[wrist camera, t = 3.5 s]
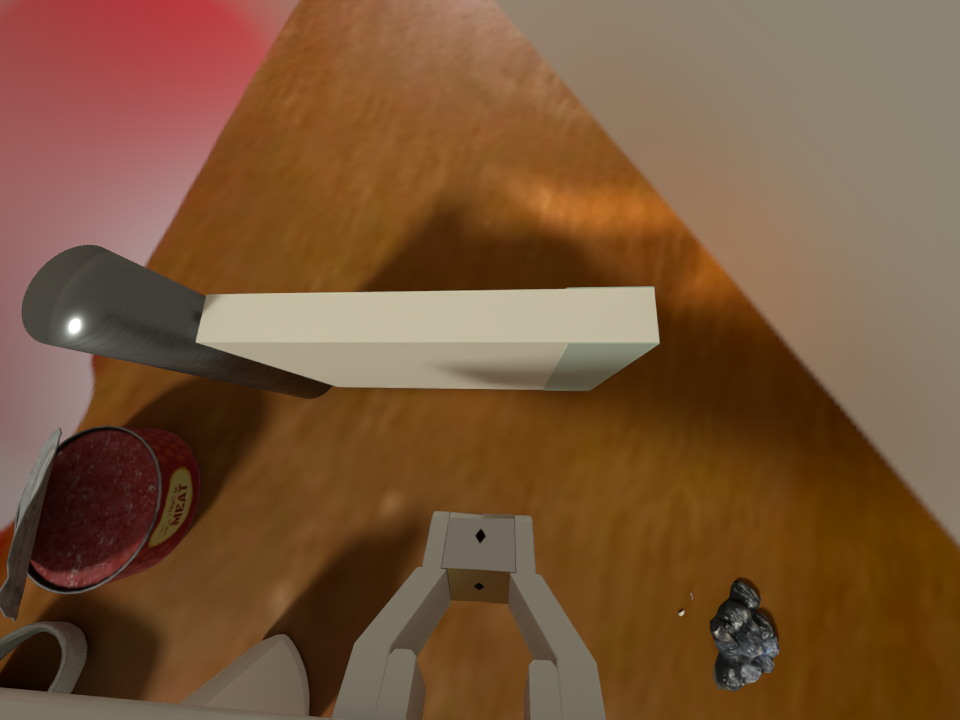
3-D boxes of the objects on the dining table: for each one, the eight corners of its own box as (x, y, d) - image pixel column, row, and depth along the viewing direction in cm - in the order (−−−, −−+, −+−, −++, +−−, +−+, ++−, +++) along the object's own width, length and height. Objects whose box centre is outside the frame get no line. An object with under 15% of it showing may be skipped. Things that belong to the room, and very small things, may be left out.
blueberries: (655, 680, 19) (670, 708, 18) (671, 535, 21) (687, 547, 19) (783, 717, 19) (813, 751, 17) (794, 563, 20) (823, 579, 18)
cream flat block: (337, 387, 24) (195, 343, 13) (341, 358, 24) (206, 293, 14) (589, 391, 22) (659, 343, 11) (587, 359, 23) (653, 286, 12)
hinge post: (345, 363, 25) (142, 270, 11) (317, 407, 24) (69, 363, 11) (306, 342, 26) (72, 229, 12) (279, 384, 25) (1, 315, 11)
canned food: (203, 554, 27) (4, 694, 18) (120, 472, 28) (-108, 565, 19) (246, 461, 23) (20, 579, 14) (148, 371, 24) (-122, 425, 15)
